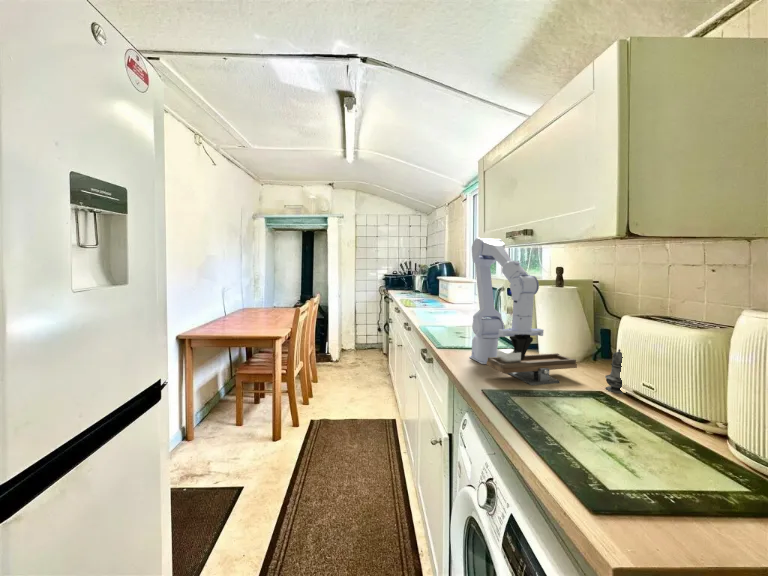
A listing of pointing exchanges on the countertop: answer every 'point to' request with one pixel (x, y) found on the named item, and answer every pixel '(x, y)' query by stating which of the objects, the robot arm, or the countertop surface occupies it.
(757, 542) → the countertop surface
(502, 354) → the white block
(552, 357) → the brown wooden tray
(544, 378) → the fulcrum stand
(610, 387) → the dark grey chess piece
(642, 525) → the countertop surface
